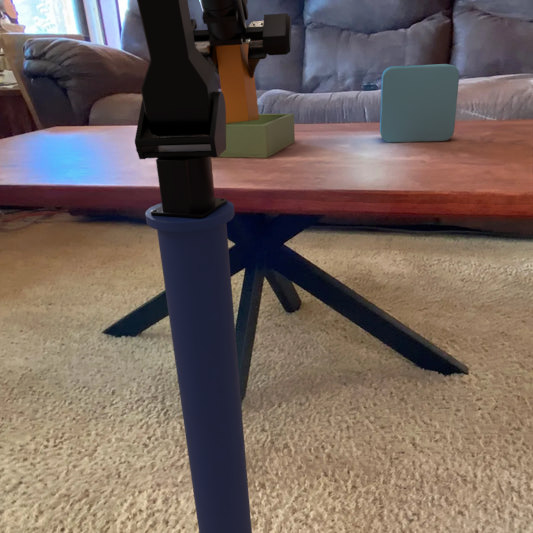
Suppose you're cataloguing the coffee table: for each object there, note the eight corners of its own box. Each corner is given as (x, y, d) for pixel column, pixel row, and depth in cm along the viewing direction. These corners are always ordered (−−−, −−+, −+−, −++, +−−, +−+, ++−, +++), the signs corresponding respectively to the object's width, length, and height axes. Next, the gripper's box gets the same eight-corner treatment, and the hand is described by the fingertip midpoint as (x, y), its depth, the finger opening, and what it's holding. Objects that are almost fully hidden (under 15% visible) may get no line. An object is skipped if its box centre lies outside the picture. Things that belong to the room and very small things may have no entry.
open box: (267, 158, 80) (265, 125, 78) (184, 156, 85) (181, 125, 83) (294, 142, 92) (294, 113, 90) (221, 141, 97) (219, 114, 95)
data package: (449, 136, 90) (455, 63, 85) (453, 141, 85) (460, 64, 81) (379, 138, 92) (381, 66, 87) (380, 142, 87) (383, 67, 83)
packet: (259, 119, 89) (250, 39, 85) (249, 120, 82) (238, 34, 79) (237, 122, 90) (227, 42, 86) (225, 123, 83) (214, 38, 80)
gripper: (288, -50, 73) (296, 36, 87) (162, -40, 75) (190, 42, 89) (285, 7, 68) (293, 88, 83) (151, 16, 71) (182, 93, 85)
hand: (238, 76), depth 85 cm, fingers closed on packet, 4 cm apart
